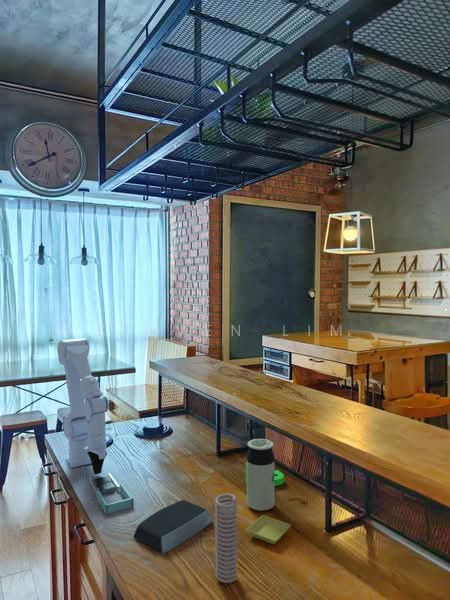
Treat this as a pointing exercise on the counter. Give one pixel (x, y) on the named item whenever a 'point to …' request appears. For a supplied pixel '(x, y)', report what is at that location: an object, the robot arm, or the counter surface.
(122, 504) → the tray
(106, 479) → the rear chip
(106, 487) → the block
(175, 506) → the external hard drive
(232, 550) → the coil
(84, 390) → the robot arm
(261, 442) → the travel mug
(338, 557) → the counter surface
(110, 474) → the slot guide
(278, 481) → the mechanical part
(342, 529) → the counter surface
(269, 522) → the saucer
